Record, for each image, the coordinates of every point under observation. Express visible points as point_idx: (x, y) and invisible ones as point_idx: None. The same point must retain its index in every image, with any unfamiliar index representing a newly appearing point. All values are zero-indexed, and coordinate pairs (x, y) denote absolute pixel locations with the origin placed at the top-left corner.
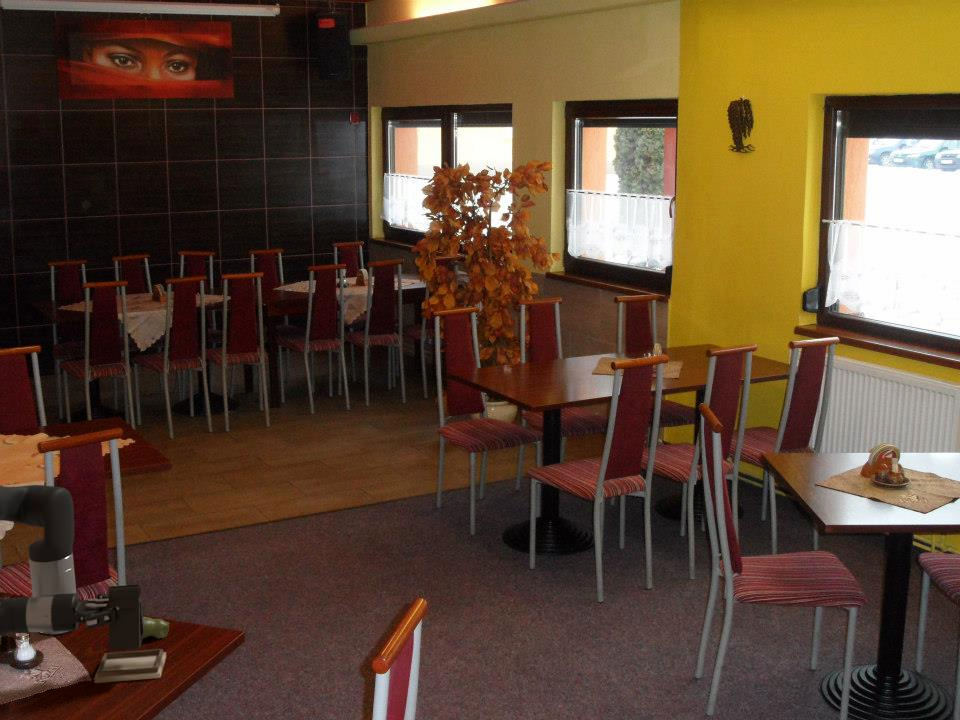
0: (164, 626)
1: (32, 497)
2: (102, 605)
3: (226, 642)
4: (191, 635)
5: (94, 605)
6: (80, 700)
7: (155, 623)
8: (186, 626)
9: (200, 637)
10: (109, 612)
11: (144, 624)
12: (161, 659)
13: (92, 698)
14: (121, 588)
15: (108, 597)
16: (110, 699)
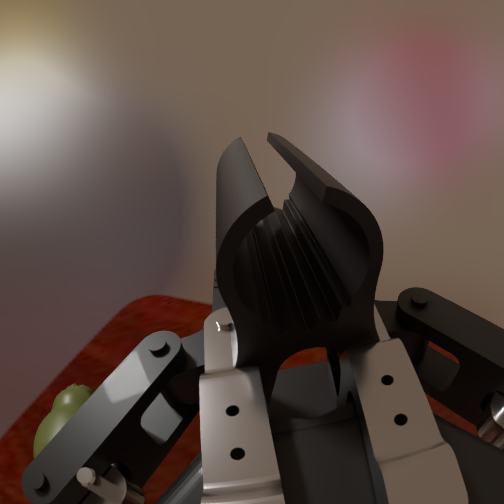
0: (86, 392)
1: None
2: (395, 370)
3: (175, 301)
4: (116, 360)
5: (414, 445)
6: None
7: (78, 404)
8: (70, 373)
9: (133, 343)
10: (452, 303)
11: None
12: None
13: None
14: (302, 156)
15: (380, 262)
16: (472, 429)
